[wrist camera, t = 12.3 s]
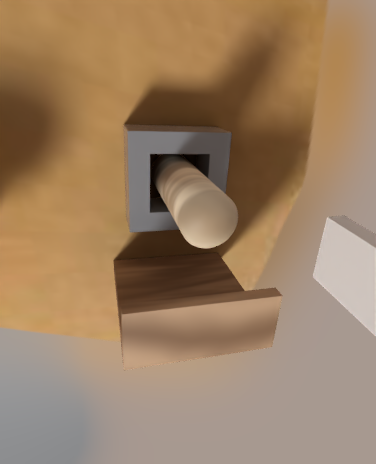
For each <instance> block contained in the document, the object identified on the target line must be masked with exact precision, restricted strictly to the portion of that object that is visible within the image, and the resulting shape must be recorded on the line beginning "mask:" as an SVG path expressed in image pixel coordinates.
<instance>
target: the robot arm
mask: <svg viewBox="0 0 376 464" xmlns="http://www.w3.org/2000/svg"><path fill="white" fill-rule="evenodd" d="M313 278H314V279H315V280H317V281H318V282H319V283H320V284H321V285H322V286H323V287H324V288H325V289H326V290H327V291H328V292H329V293H331V295H333V296H334V297H335V298H336V299H337V300H338V301H339V302H340V303H341V304H342V305H343V306H344V307H345V308H346V309H347V310H348V311H349V312H350V313H351V314H353V315H354V316H355V317H356V318H357V319H358V320H359V321H360V322H361V323H362V324H363V325H364V326H365V327H366V328H367V329H368V330H369V331H370V332H372V333H373V334H374V335H375V336H376V234H375V233H373V232H371V231H369V230H368V229H366V228H364V227H363V226H361V225H359V224H357V223H356V222H354V221H353V220H351V219H349V218H347V217H346V216H334V217H327V220H326V225H325V229H324V233H323V237H322V241H321V245H320V249H319V253H318V257H317V261H316V266H315V270H314V274H313Z"/></svg>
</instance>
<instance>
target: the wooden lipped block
mask: <svg viewBox="0 0 376 464" xmlns="http://www.w3.org/2000/svg"><path fill="white" fill-rule="evenodd" d="M114 275H115V285H116V296H117V306H118V316H119V326H120V337H121V347H122V357H123V367H124V370H129V369H136V368H142V367H148V366H155V365H161V364H168V363H174V362H180V361H187V360H193V359H199V358H206V357H212V356H218V355H224V354H231V353H238V352H243V351H250V350H256V349H263V348H269V347H272V345H273V340H274V334H275V330H276V325H277V320H278V315H279V310H280V306H281V301H282V295H281V294H280V292H279V291H278V290H277V289H276V288H268V289H259V290H250V291H244V289H243V288H242V286H241V285H240V284H239V282H238V281H237V279H236V278H235V276H234V275H233V274H232V272H231V271H230V269H229V268H228V266H227V265H226V264H225V262H224V261H223V259H222V258H221V256H220V255H219V254H218V253H205V254H192V255H179V256H166V257H153V258H140V259H126V260H114Z"/></svg>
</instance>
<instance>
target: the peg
mask: <svg viewBox="0 0 376 464" xmlns="http://www.w3.org/2000/svg"><path fill="white" fill-rule="evenodd" d="M151 177H152V180H153V182H154V184H155V186H156V188H157V190H158V191H159V193H160V195H161V197H162V199H163V200H164V202H165V204H166V206H167V208H168V209H169V211H170V213H171V215H172V217H173V218H174V220H175V222H176V224H177V226H178V227H179V229H180V231H181V233H182V235H183V236H184V238H185V239H186V240H187V241H188V242H189V243H190V244H191V245H193V246H196V247H199V248H212V247H216V246H218V245H220V244H222V243H224V242H225V241H226V240H227V239H228V238H229V237H230V236H231V235H232V234H233V232H234V231H235V228H236V226H237V222H238V211H237V207H236V205H235V203H234V202H233V201H232V200H231V199H230V198H229V197H228V196H227V195H226V194H225V193H224V192H223V191H221V190H220V189H219V188H218V187H217V186H216V185H215V184H214V183H213V182H211V181H210V180H209V179H208V178H207V177H206V176H205V175H204V174H202V173H201V172H200V171H199V170H198V169H197V168H196V167H195V166H194V165H192V164H191V163H190V162H189V161H188V160H187V159H186V158H185V157H183V156H182V155H180V154H162V155H160V156H159V157H158V158H157V159H156V160H155V161H154V163H153V165H152V168H151Z"/></svg>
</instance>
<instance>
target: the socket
mask: <svg viewBox="0 0 376 464" xmlns="http://www.w3.org/2000/svg"><path fill="white" fill-rule="evenodd" d="M231 136H232V133H231V132H228V131H226V130H223V129H221V128H218V127H208V126H166V125H124V155H125V191H126V217H127V222H128V226H129V231H130V232H144V231H162V230H180V229H179V227H178V226H177V224H176V222H175V220H174V218H173V217H172V215H171V213H170V211H169V209H168V208H167V206H166V204H165V202H164V200H163V199H162V198H150V154H197V160H196V168H197V169H198V170H199V171H200V172H201V173H202V174H204V175H205V176H206V177H207V178H208V179H209V180H210V181H211V182H213V183H214V184H215V185H216V186H217V187H218V188H219V189H220V190H221V191H223V192H224V193H225V194H226V184H227V174H228V165H229V155H230V145H231Z"/></svg>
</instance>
